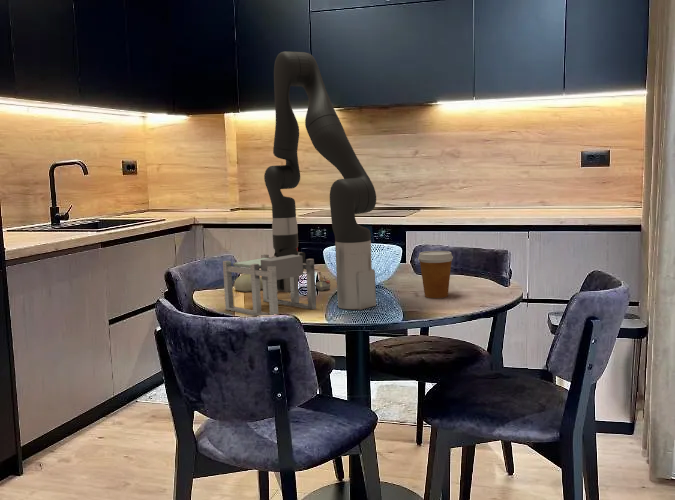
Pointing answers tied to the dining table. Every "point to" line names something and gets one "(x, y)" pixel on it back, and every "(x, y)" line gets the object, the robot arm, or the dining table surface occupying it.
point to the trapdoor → (278, 265)
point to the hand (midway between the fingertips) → (287, 288)
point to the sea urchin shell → (245, 283)
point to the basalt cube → (286, 285)
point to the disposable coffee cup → (435, 272)
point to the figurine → (323, 283)
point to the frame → (268, 288)
